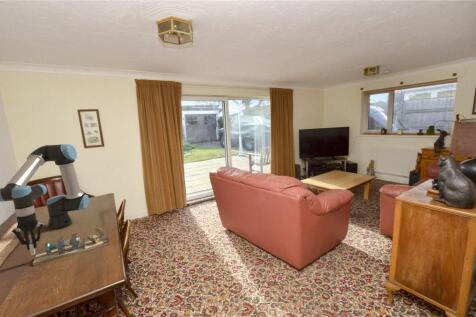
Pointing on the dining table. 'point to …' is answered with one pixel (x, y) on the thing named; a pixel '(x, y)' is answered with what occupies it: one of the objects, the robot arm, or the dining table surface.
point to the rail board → (68, 251)
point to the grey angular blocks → (73, 240)
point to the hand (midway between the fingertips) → (33, 254)
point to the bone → (94, 237)
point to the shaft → (54, 246)
